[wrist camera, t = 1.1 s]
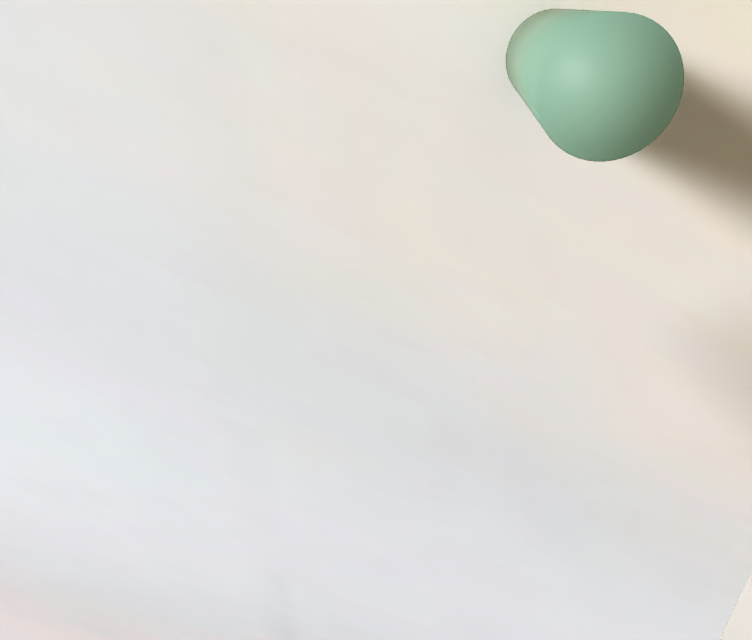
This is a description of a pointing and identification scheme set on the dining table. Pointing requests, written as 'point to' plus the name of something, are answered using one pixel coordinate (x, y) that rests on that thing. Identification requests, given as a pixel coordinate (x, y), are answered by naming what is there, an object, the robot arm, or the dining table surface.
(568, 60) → the tall pin
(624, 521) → the dining table surface
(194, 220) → the dining table surface
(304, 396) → the dining table surface
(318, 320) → the dining table surface
